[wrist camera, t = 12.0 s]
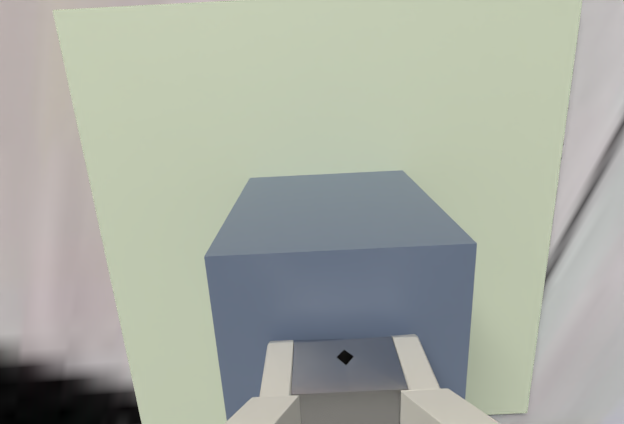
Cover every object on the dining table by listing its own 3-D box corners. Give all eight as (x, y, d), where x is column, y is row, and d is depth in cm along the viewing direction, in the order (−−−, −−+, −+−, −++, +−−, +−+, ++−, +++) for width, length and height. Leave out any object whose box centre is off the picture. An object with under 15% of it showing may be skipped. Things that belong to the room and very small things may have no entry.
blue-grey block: (402, 170, 14) (477, 243, 8) (400, 305, 16) (460, 455, 10) (249, 177, 14) (203, 256, 8) (262, 311, 16) (233, 465, 10)
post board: (569, -13, 13) (753, -76, 8) (517, 398, 18) (609, 538, 13) (67, 14, 13) (-102, -31, 8) (150, 415, 18) (81, 562, 13)
